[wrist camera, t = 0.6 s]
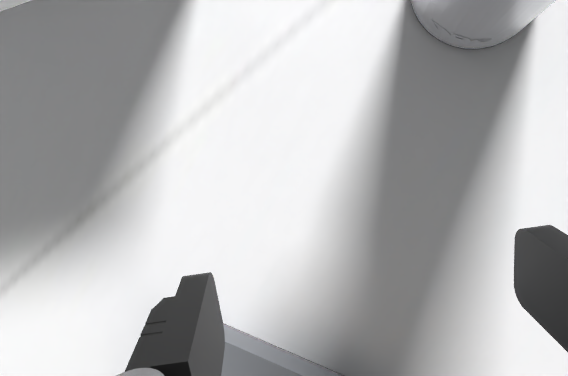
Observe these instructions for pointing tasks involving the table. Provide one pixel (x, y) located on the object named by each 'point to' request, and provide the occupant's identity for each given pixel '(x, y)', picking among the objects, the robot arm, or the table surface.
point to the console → (263, 358)
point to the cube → (11, 3)
